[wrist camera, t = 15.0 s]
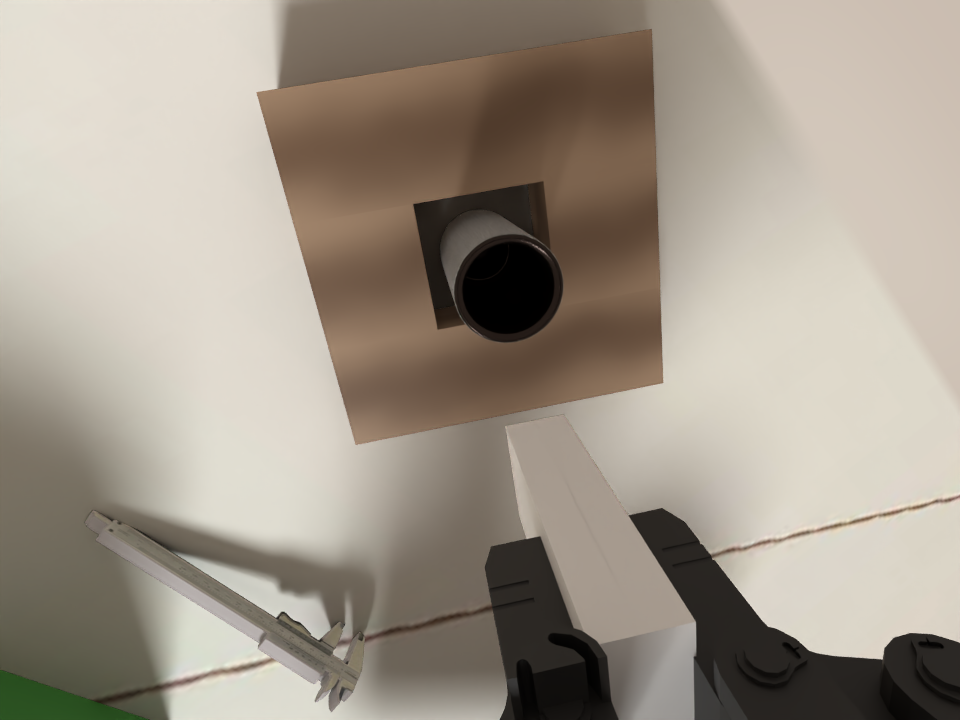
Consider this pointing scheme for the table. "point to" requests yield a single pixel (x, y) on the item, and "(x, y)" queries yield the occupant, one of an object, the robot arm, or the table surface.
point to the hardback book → (50, 703)
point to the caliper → (241, 612)
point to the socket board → (466, 170)
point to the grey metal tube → (500, 277)
